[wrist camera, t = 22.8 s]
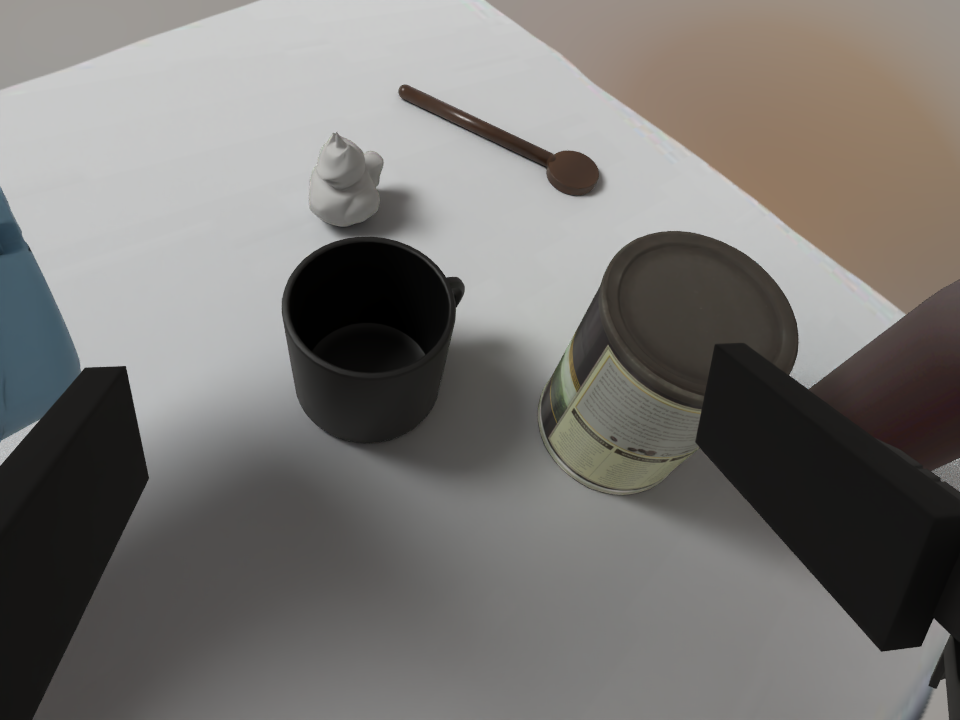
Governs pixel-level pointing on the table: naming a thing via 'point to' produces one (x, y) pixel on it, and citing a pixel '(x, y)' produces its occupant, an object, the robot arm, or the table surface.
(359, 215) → the white toy figurine
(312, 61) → the table surface
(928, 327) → the beer bottle
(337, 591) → the table surface
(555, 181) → the wooden spoon
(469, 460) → the table surface
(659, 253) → the coffee can
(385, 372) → the mug
